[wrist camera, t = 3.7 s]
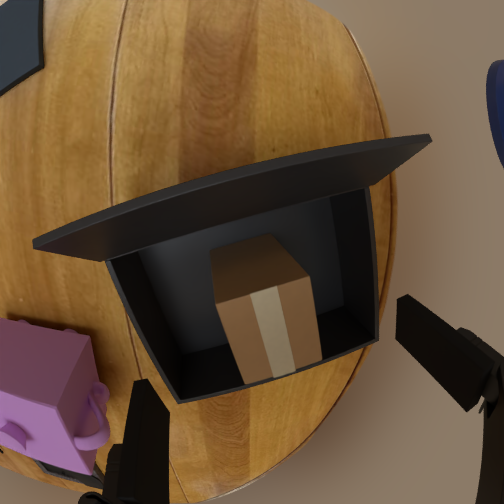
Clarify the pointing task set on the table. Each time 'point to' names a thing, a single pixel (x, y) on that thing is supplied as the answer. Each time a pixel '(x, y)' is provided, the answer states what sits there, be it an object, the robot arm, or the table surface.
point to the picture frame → (74, 474)
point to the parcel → (265, 308)
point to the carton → (203, 301)
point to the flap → (229, 197)
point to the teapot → (51, 396)
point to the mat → (20, 41)
